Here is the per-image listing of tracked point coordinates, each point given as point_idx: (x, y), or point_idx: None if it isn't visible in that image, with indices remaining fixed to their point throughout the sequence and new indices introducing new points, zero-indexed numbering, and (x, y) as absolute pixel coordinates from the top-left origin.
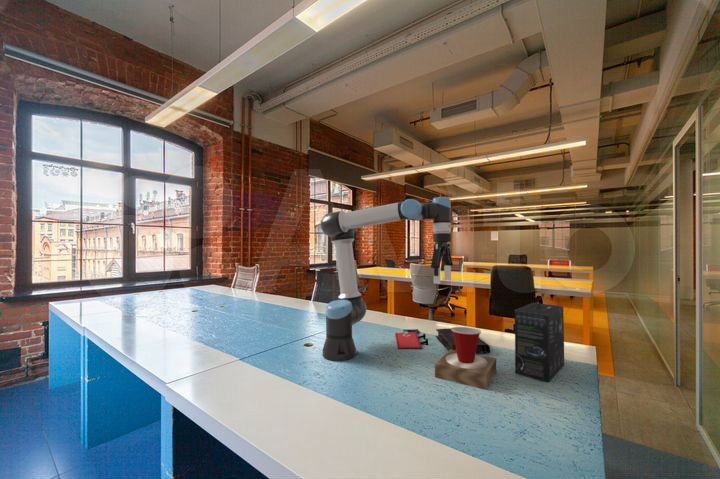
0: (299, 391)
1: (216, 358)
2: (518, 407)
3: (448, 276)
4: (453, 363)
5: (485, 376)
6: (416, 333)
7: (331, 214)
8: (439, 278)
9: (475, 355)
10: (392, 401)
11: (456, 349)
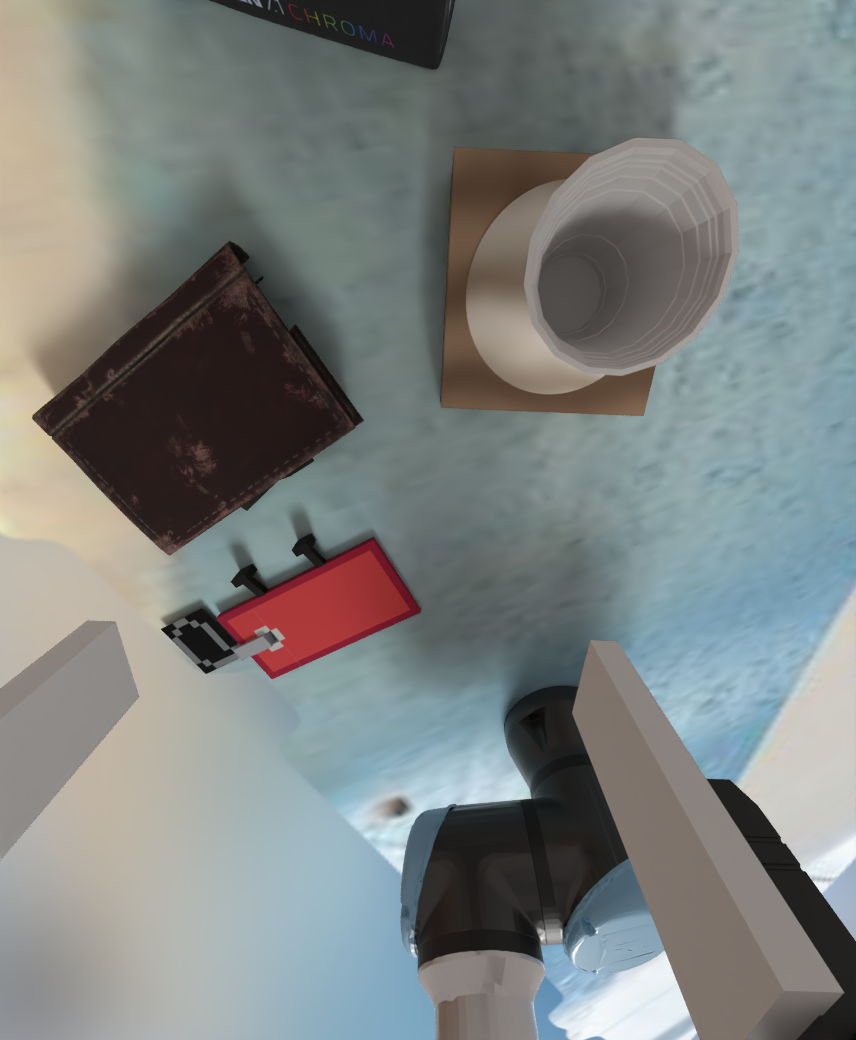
0: (820, 684)
1: None
2: (791, 11)
3: (73, 693)
4: None
5: None
6: (225, 614)
7: None
8: (660, 714)
9: (475, 267)
10: (831, 468)
11: (606, 334)
